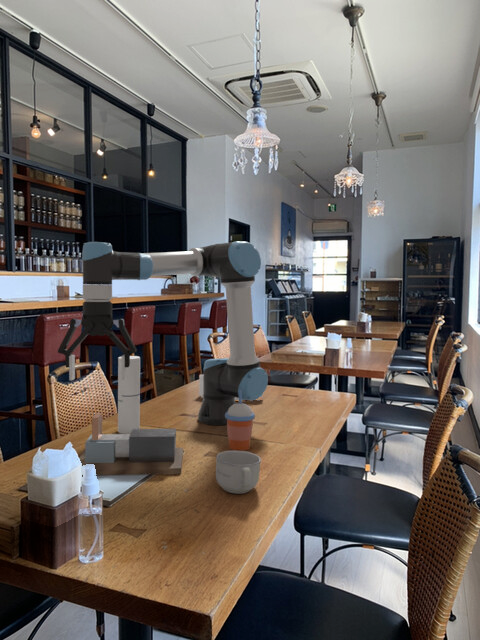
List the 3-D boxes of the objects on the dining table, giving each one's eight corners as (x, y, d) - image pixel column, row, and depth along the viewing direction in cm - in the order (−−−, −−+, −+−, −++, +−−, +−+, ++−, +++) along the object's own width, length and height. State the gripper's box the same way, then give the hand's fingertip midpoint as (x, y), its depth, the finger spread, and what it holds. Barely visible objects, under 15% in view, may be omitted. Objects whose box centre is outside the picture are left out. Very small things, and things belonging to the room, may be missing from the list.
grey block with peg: (142, 450, 129) (143, 412, 128) (140, 457, 124) (141, 417, 123) (95, 451, 127) (95, 412, 127) (91, 457, 122) (91, 417, 122)
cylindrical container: (134, 434, 151) (134, 359, 150) (114, 432, 153) (114, 358, 151) (142, 428, 158) (143, 356, 157) (123, 426, 160) (124, 355, 158)
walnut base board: (183, 452, 135) (183, 447, 135) (181, 473, 119) (181, 468, 119) (85, 453, 133) (85, 448, 133) (70, 475, 117) (70, 469, 117)
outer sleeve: (175, 453, 130) (175, 428, 130) (174, 462, 124) (174, 436, 123) (132, 453, 129) (132, 429, 129) (128, 462, 122) (129, 436, 122)
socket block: (118, 453, 129) (118, 434, 129) (113, 462, 122) (113, 442, 122) (91, 453, 128) (91, 434, 128) (85, 463, 121) (85, 442, 121)
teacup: (214, 479, 116) (215, 448, 116) (257, 479, 117) (258, 448, 117) (216, 505, 102) (217, 470, 102) (264, 504, 103) (265, 469, 103)
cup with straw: (232, 454, 135) (233, 393, 134) (219, 445, 143) (220, 387, 142) (259, 450, 139) (260, 391, 138) (245, 441, 147) (246, 385, 146)
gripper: (146, 301, 127) (146, 376, 129) (53, 300, 125) (54, 376, 127) (143, 301, 120) (143, 381, 121) (44, 300, 118) (45, 382, 119)
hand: (98, 379), depth 124 cm, fingers open, 13 cm apart
